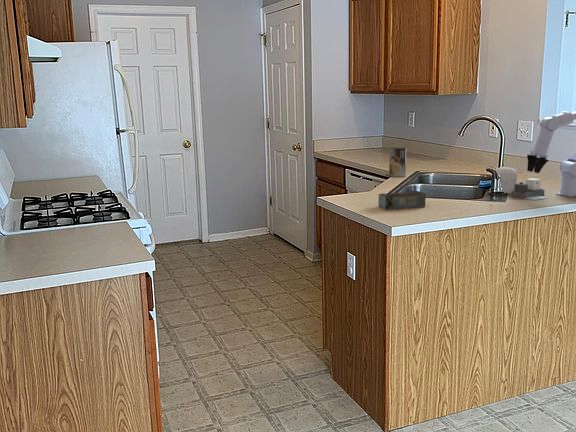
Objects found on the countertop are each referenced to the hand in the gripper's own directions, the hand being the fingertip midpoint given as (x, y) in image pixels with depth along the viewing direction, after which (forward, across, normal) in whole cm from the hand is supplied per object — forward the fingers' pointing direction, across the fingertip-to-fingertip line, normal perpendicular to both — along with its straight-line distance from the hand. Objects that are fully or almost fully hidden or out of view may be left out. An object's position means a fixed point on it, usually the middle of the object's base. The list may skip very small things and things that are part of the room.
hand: (533, 172), depth 263 cm
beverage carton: (+28, +57, -25) cm, 68 cm away
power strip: (+11, -1, +1) cm, 11 cm away
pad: (+11, +2, +6) cm, 13 cm away
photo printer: (+13, -1, -10) cm, 17 cm away
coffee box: (+23, -8, -77) cm, 80 cm away
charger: (+8, -4, +1) cm, 9 cm away
